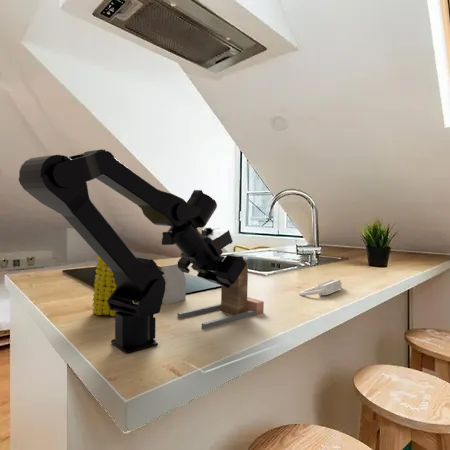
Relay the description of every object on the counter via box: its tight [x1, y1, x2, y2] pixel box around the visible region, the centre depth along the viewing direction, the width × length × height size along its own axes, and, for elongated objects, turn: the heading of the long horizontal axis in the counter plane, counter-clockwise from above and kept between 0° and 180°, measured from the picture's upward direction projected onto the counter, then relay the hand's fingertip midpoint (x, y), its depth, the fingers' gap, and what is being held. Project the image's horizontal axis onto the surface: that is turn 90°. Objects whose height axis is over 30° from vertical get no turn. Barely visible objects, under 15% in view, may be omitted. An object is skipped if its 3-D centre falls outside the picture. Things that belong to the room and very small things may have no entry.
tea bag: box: [160, 263, 187, 306], centre depth 97 cm, size 4×7×10 cm, turn 142°
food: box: [92, 255, 137, 317], centre depth 86 cm, size 15×12×10 cm
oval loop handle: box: [298, 278, 343, 297], centre depth 112 cm, size 20×8×4 cm, turn 140°
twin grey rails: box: [177, 296, 265, 330], centre depth 85 cm, size 18×10×3 cm, turn 132°
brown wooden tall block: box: [220, 259, 249, 315], centre depth 88 cm, size 3×6×13 cm, turn 42°
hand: (228, 286), depth 87 cm, fingers closed, pressing on brown wooden tall block
